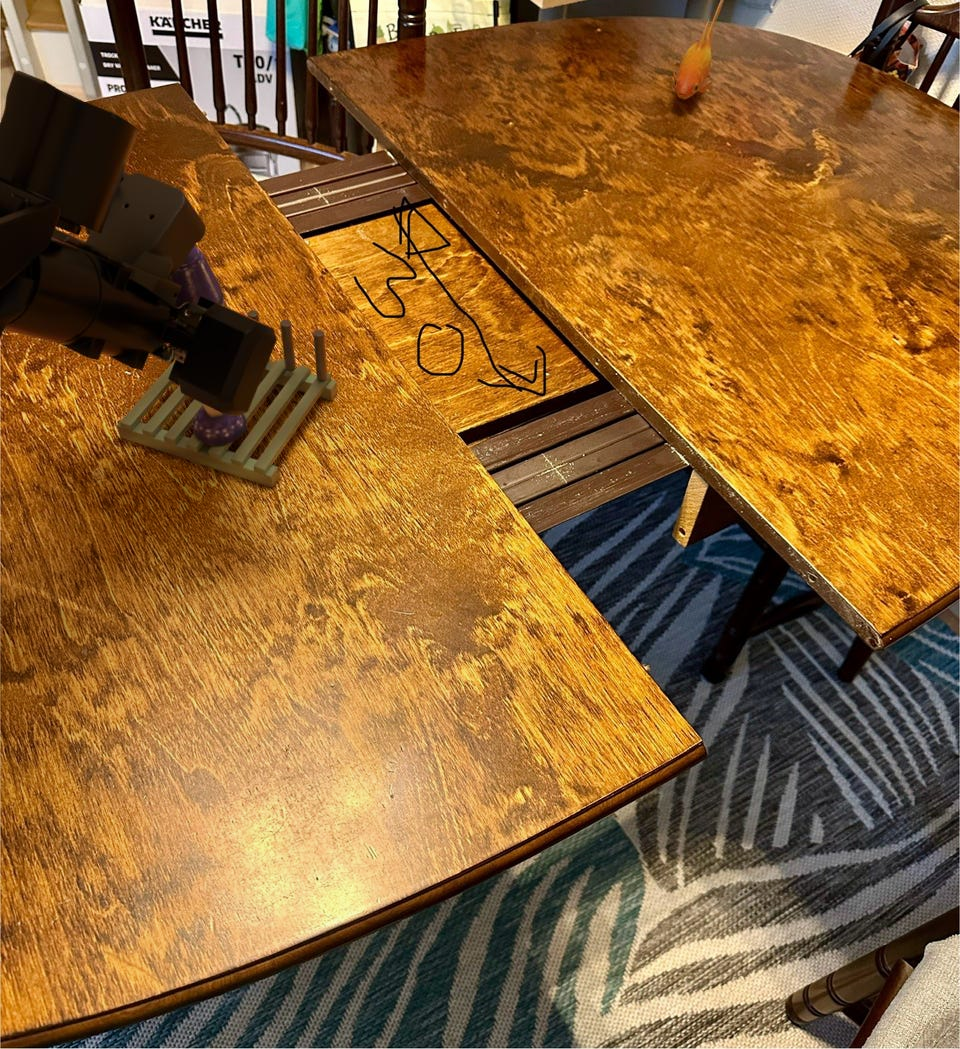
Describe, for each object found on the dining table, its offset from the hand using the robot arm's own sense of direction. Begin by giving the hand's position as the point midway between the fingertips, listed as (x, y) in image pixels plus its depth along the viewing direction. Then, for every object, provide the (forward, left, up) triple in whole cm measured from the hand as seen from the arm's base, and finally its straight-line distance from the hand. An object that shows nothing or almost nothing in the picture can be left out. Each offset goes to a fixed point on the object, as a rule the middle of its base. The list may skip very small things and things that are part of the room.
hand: (213, 342), depth 67 cm
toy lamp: (0, -1, -8) cm, 8 cm away
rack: (-1, +2, -10) cm, 10 cm away
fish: (+24, +84, -10) cm, 88 cm away
